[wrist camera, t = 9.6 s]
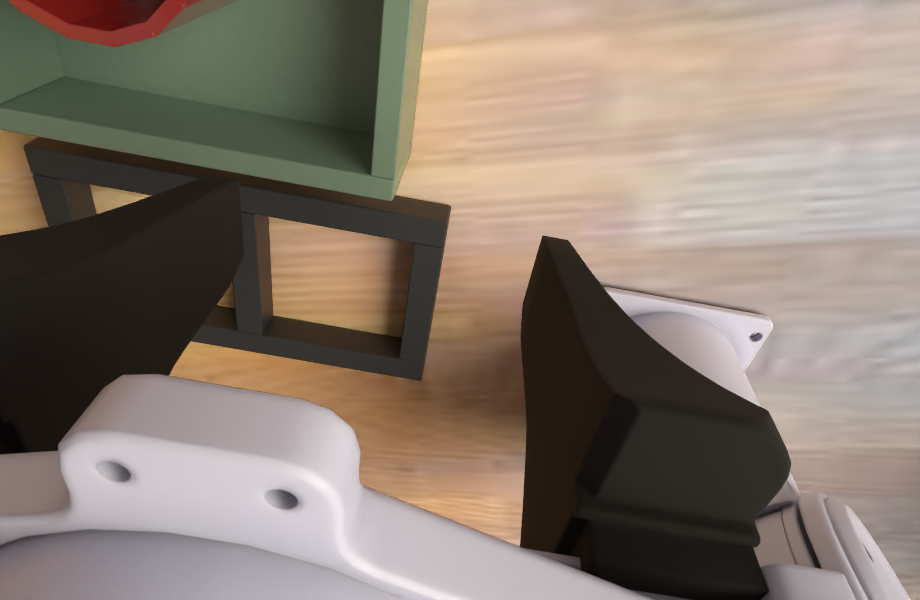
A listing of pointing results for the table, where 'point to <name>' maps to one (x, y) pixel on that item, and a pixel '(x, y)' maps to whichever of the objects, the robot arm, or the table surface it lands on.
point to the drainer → (268, 251)
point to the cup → (115, 17)
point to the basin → (234, 90)
